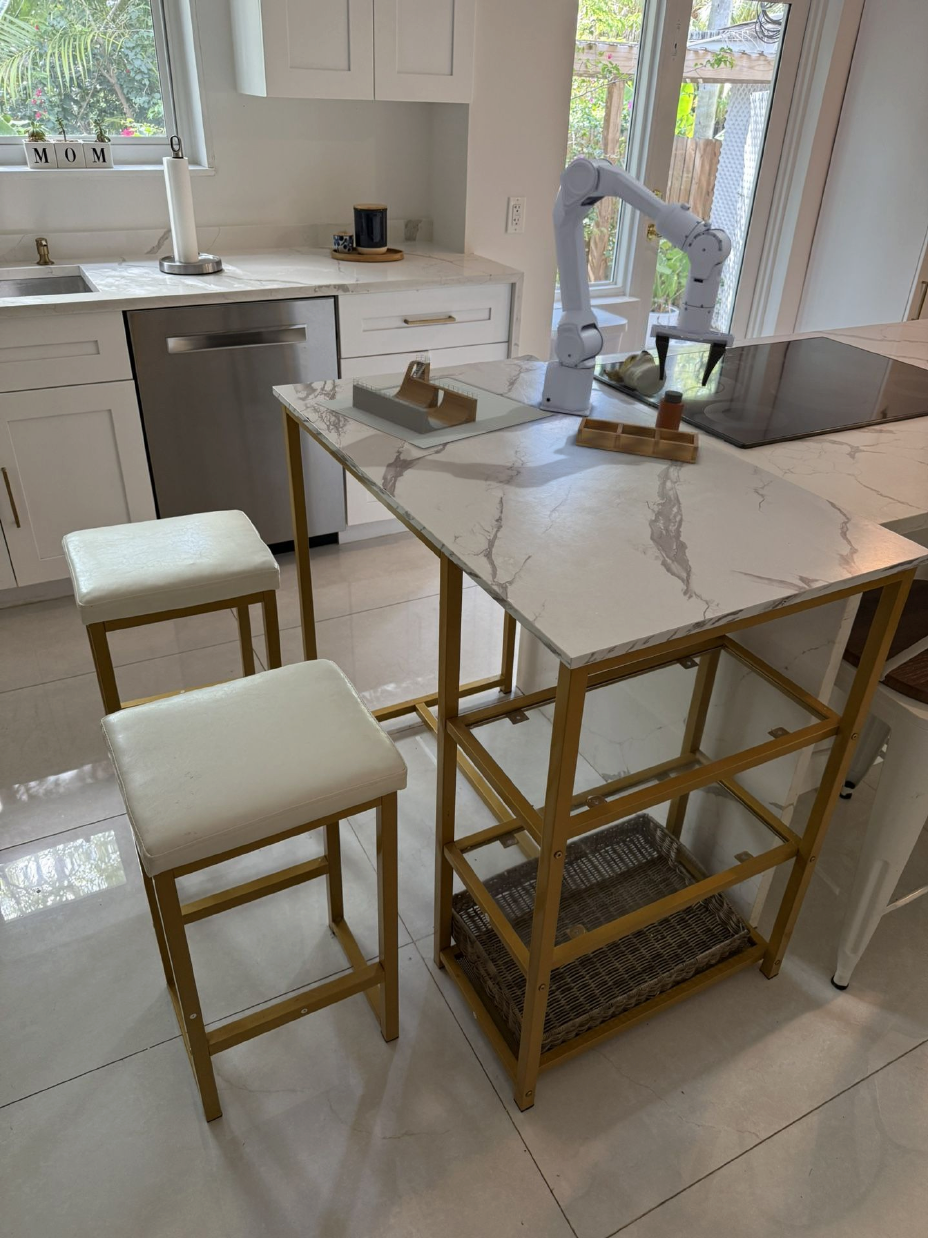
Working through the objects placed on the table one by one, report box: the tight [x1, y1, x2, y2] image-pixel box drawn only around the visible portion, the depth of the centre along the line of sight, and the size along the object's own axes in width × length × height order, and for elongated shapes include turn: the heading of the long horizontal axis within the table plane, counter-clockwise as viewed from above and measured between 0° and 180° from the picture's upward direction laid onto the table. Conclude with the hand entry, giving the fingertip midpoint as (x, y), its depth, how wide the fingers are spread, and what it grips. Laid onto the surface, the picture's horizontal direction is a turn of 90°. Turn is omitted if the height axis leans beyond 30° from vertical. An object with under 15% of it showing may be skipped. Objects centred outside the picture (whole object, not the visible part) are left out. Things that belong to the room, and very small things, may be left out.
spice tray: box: [575, 416, 700, 464], centre depth 157 cm, size 21×8×3 cm, turn 77°
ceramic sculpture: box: [602, 349, 668, 397], centre depth 190 cm, size 11×9×15 cm
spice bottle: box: [654, 389, 685, 431], centre depth 163 cm, size 4×4×8 cm
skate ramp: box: [315, 354, 555, 449], centre depth 165 cm, size 29×35×8 cm
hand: (682, 381), depth 161 cm, fingers open, 7 cm apart
